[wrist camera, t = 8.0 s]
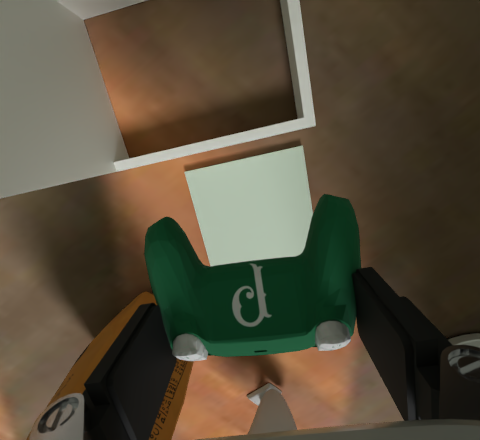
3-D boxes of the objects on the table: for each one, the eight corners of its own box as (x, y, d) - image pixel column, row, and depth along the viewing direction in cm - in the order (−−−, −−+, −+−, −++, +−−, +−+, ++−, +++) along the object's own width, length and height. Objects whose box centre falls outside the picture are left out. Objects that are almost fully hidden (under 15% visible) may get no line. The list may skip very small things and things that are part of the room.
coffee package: (86, 340, 32) (-248, 740, 11) (148, 274, 28) (-150, 654, 7) (151, 386, 33) (-26, 812, 12) (216, 329, 30) (128, 767, 9)
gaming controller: (173, 245, 15) (165, 364, 12) (140, 213, 12) (119, 365, 9) (336, 224, 14) (371, 348, 11) (351, 182, 11) (406, 342, 8)
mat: (301, 145, 24) (302, 145, 23) (317, 254, 27) (319, 257, 26) (186, 171, 25) (184, 172, 24) (214, 273, 28) (213, 275, 27)
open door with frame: (280, -75, 19) (419, -1224, 3) (308, 127, 23) (434, 98, 7) (65, -6, 21) (-550, -480, 5) (124, 169, 25) (-110, 223, 9)
